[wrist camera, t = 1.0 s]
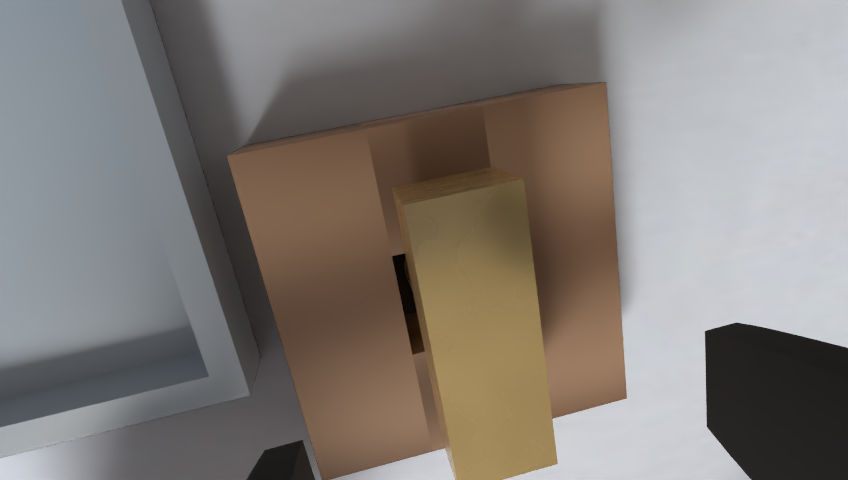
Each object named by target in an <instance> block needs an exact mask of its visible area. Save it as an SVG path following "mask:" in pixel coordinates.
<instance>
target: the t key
mask: <svg viewBox="0 0 848 480" xmlns="http://www.w3.org/2000/svg"><path fill="white" fill-rule="evenodd" d="M392 190H393V195H394V200H395V205H396V210H397V215H398V220H399V225H400V230H401V235H402V240H403V245H404V250H405V255H406V258H405V263H404V268H405V274H406V277H407V279H408V281H409V284H410V286H411V289H412V291H413V295H414V300H415V305H416V310H417V315H418V320H419V325H420V330H421V335H422V340H423V345H424V350H425V355H426V360H427V365H428V370H429V375H430V380H431V385H432V390H433V395H434V400H435V405H436V410H437V415H438V420H439V425H440V430H441V435H442V440H443V443H444V446H445V449H446V452H447V455H448V459H449V462H450V465H451V468H452V471H453V474H454V477H455V480H503V479H506V478H510V477H513V476H517V475H520V474H524V473H527V472H531V471H534V470H538V469H541V468H545V467H548V466H552V465H555V464H557V455H556V447H555V439H554V430H553V422H552V413H551V405H550V397H549V388H548V380H547V371H546V363H545V354H544V346H543V338H542V329H541V321H540V312H539V304H538V296H537V287H536V279H535V270H534V262H533V253H532V245H531V237H530V228H529V220H528V211H527V203H526V194H525V186H524V179H522V178H519V177H517V176H515V175H512V174H510V173H508V172H506V171H503V170H501V169H499V168H497V167H489V168H485V169H480V170H475V171H470V172H466V173H461V174H456V175H451V176H447V177H442V178H437V179H432V180H428V181H423V182H418V183H413V184H409V185H404V186H399V187H394V188H392Z"/></svg>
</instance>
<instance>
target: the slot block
mask: <svg viewBox="0 0 848 480" xmlns="http://www.w3.org/2000/svg"><path fill="white" fill-rule="evenodd" d="M227 159H228V162H229V166H230V169H231V173H232V176H233V179H234V183H235V186H236V189H237V193H238V196H239V200H240V203H241V206H242V210H243V213H244V217H245V220H246V223H247V227H248V230H249V234H250V237H251V240H252V244H253V247H254V251H255V254H256V257H257V261H258V264H259V268H260V271H261V274H262V278H263V281H264V285H265V288H266V291H267V295H268V298H269V301H270V305H271V308H272V312H273V315H274V318H275V322H276V325H277V329H278V332H279V335H280V339H281V342H282V346H283V349H284V352H285V356H286V359H287V363H288V366H289V369H290V373H291V376H292V380H293V383H294V386H295V390H296V393H297V396H298V400H299V403H300V407H301V410H302V413H303V417H304V420H305V424H306V427H307V430H308V434H309V437H310V441H311V444H312V447H313V451H314V454H315V458H316V461H317V464H318V468H319V471H320V475H321V478H322V480H330V479H333V478H337V477H341V476H344V475H348V474H352V473H355V472H359V471H363V470H366V469H370V468H374V467H377V466H381V465H384V464H388V463H392V462H395V461H399V460H403V459H406V458H410V457H414V456H417V455H421V454H425V453H428V452H432V451H436V450H439V449H443V448H445V446H444V443H443V440H442V435H441V430H440V425H439V420H438V415H437V410H436V405H435V400H434V395H433V390H432V385H431V380H430V375H429V370H428V365H427V360H426V355H425V350H424V345H423V340H422V335H421V330H420V325H419V320H418V315H417V312H416V313H412V314H407V315H404V312H403V307H402V302H401V297H400V293H399V288H398V283H397V278H396V273H395V269H394V264H393V259H392V256H395V255H399V254H404V253H405V250H404V245H403V240H402V235H401V230H400V225H399V220H398V215H397V210H396V205H395V200H394V195H393V190H392V188H394V187H399V186H404V185H409V184H413V183H418V182H423V181H428V180H432V179H437V178H442V177H447V176H451V175H456V174H461V173H466V172H470V171H475V170H480V169H485V168H489V167H497V168H499V169H501V170H503V171H506V172H508V173H510V174H512V175H515V176H517V177H519V178H522V179H524V186H525V194H526V203H527V211H528V220H529V228H530V237H531V245H532V253H533V262H534V270H535V279H536V287H537V296H538V304H539V312H540V321H541V329H542V338H543V346H544V354H545V363H546V371H547V380H548V388H549V397H550V405H551V413H552V419H553V418H556V417H560V416H564V415H567V414H571V413H575V412H578V411H582V410H586V409H589V408H593V407H597V406H600V405H604V404H608V403H611V402H615V401H619V400H622V399H626V398H627V395H626V379H625V364H624V349H623V333H622V318H621V303H620V287H619V272H618V257H617V241H616V226H615V210H614V195H613V180H612V164H611V149H610V134H609V118H608V103H607V88H606V82H599V83H578V84H561V85H556V86H551V87H545V88H540V89H535V90H530V91H525V92H520V93H515V94H509V95H504V96H499V97H494V98H489V99H484V100H478V101H473V102H468V103H463V104H458V105H453V106H447V107H442V108H437V109H432V110H427V111H422V112H416V113H411V114H406V115H401V116H396V117H391V118H386V119H380V120H375V121H370V122H365V123H360V124H355V125H349V126H344V127H339V128H334V129H329V130H324V131H318V132H313V133H308V134H303V135H298V136H293V137H287V138H282V139H277V140H272V141H267V142H262V143H256V144H251V145H246V146H244V147H242V148H240V149H238V150H237V151H235V152H233V153H231V154H230V155H228V156H227Z"/></svg>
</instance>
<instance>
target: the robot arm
mask: <svg viewBox="0 0 848 480" xmlns="http://www.w3.org/2000/svg"><path fill="white" fill-rule="evenodd" d="M705 349H706V402H707V427H708V429H709V430H710V431H711V432H712V433H713V435H714V436H715V437H716V438H717V440H718V441H719V442H720V443H721V445H722V446H723V447H724V448H725V450H726V451H727V452H728V453H729V454H730V456H731V457H732V458H733V459H734V460H735V461H736V462H737V464H738V465H739V466H740V467H741V468H742V469H743V471H744V472H745V473H746V474H747V475H748V476H749V477H750V478H751V479H752V480H848V348H846V347H842V346H838V345H834V344H830V343H826V342H822V341H818V340H814V339H810V338H806V337H802V336H798V335H793V334H789V333H785V332H781V331H776V330H772V329H767V328H763V327H758V326H753V325H747V324H741V323H733V324H730V325H726V326H722V327H719V328H715V329H711V330H707V331H705ZM247 480H315V478H314V475H313V472H312V469H311V466H310V462H309V459H308V456H307V453H306V450H305V446H304V443H303V440H301V441H297V442H294V443H290V444H286V445H283V446H279V447H275V448H271V449H268V450H265V451H264V453H263V454H262V456H261V457H260V459H259V460H258V462H257V464H256V465H255V467H254V468H253V470H252V472H251V473H250V475H249V477H248V478H247Z"/></svg>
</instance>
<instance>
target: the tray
mask: <svg viewBox="0 0 848 480" xmlns="http://www.w3.org/2000/svg"><path fill="white" fill-rule="evenodd" d="M260 359H261V356H260V353H259V350H258V347H257V343H256V340H255V337H254V334H253V331H252V327H251V324H250V321H249V318H248V315H247V311H246V308H245V305H244V302H243V299H242V295H241V292H240V289H239V286H238V282H237V279H236V276H235V273H234V270H233V266H232V263H231V260H230V257H229V254H228V250H227V247H226V244H225V241H224V238H223V234H222V231H221V228H220V225H219V222H218V218H217V215H216V212H215V209H214V205H213V202H212V199H211V196H210V193H209V189H208V186H207V183H206V180H205V177H204V173H203V170H202V167H201V164H200V161H199V157H198V154H197V151H196V148H195V145H194V141H193V138H192V135H191V132H190V128H189V125H188V122H187V119H186V116H185V112H184V109H183V106H182V103H181V100H180V96H179V93H178V90H177V87H176V84H175V80H174V77H173V74H172V71H171V68H170V64H169V61H168V58H167V55H166V51H165V48H164V45H163V42H162V39H161V35H160V32H159V29H158V26H157V23H156V19H155V16H154V13H153V10H152V7H151V3H150V0H0V458H3V457H7V456H11V455H15V454H19V453H23V452H27V451H31V450H35V449H39V448H43V447H47V446H51V445H55V444H59V443H63V442H67V441H71V440H75V439H79V438H83V437H87V436H91V435H95V434H99V433H103V432H107V431H111V430H115V429H119V428H123V427H127V426H131V425H135V424H139V423H143V422H147V421H151V420H155V419H159V418H163V417H167V416H171V415H175V414H179V413H183V412H187V411H191V410H195V409H199V408H203V407H207V406H211V405H215V404H219V403H223V402H227V401H231V400H235V399H239V398H243V397H247V396H251V392H252V388H253V385H254V381H255V377H256V373H257V370H258V366H259V362H260Z"/></svg>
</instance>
